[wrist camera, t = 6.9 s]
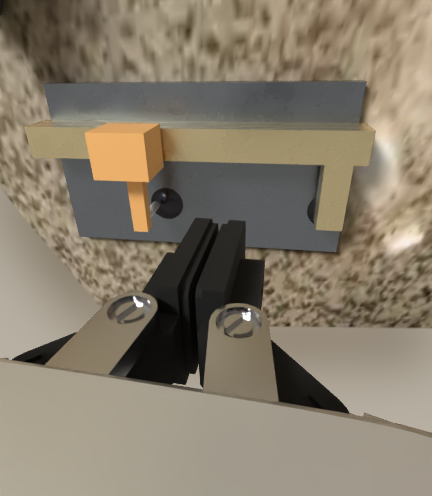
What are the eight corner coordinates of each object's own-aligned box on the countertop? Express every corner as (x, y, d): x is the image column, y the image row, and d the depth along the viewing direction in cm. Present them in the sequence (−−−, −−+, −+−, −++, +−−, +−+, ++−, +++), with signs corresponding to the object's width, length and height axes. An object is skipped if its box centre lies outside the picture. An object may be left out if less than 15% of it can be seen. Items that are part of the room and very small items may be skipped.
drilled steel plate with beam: (370, 80, 25) (385, 85, 22) (340, 247, 32) (347, 270, 29) (44, 82, 29) (13, 87, 26) (79, 231, 36) (58, 250, 33)
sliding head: (170, 116, 28) (143, 133, 22) (177, 212, 32) (156, 246, 26) (122, 116, 28) (84, 132, 23) (135, 209, 32) (106, 243, 27)
